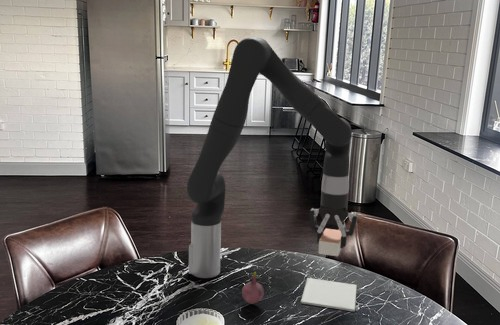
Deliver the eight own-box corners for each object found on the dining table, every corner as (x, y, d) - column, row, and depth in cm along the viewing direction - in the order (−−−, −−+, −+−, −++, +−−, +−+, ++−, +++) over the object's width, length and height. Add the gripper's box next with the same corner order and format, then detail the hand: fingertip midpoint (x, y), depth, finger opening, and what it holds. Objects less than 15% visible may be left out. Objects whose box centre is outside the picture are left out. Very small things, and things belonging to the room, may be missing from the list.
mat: (300, 303, 136) (300, 301, 136) (307, 279, 150) (307, 277, 150) (354, 311, 133) (354, 309, 132) (356, 286, 147) (356, 284, 147)
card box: (338, 256, 133) (338, 242, 132) (318, 253, 135) (319, 240, 134) (343, 243, 142) (344, 230, 142) (324, 240, 144) (325, 228, 143)
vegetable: (259, 312, 130) (261, 278, 128) (238, 307, 132) (239, 274, 130) (265, 301, 136) (267, 269, 134) (245, 297, 138) (246, 265, 136)
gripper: (306, 190, 134) (304, 247, 137) (359, 196, 129) (354, 254, 133) (312, 183, 141) (310, 237, 144) (362, 189, 136) (358, 245, 140)
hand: (331, 245), depth 138 cm, fingers closed on card box, 5 cm apart
